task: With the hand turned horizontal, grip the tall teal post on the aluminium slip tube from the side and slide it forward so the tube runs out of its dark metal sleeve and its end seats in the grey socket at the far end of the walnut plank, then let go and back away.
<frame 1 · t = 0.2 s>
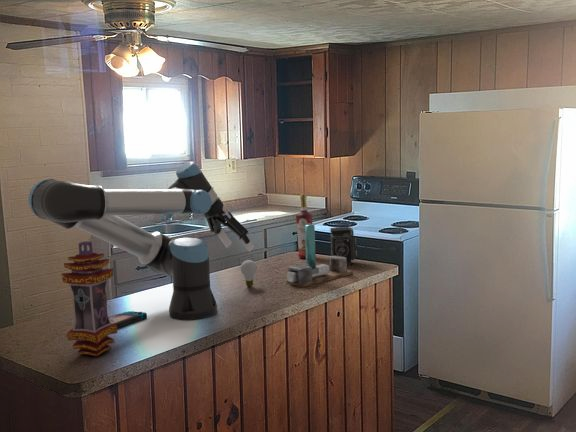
hand: (240, 247, 226), 15 cm above the counter, tool tilted 35°, fingers open, 13 cm apart
gaming console: (108, 328, 191), on the counter
lantern: (94, 354, 167), on the counter
slip tube: (307, 251, 234), point 11 cm above the counter, slide at 0.0 cm
bench: (320, 278, 240), on the counter
liquor: (305, 257, 279), on the counter
camera: (344, 264, 263), on the counter
light bulb: (249, 287, 231), on the counter
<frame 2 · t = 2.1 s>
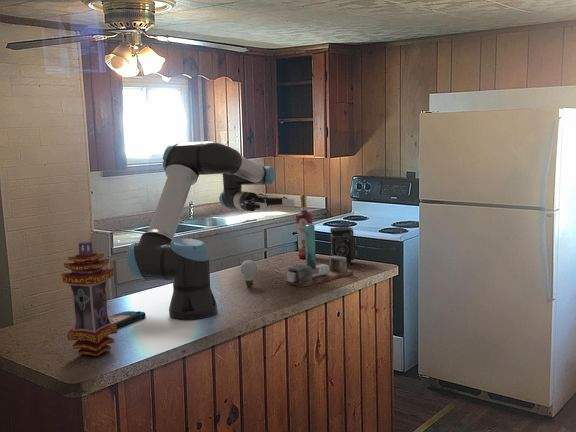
hand: (280, 205, 240), 28 cm above the counter, tool horizontal, fingers open, 13 cm apart
nothing on the counter moved.
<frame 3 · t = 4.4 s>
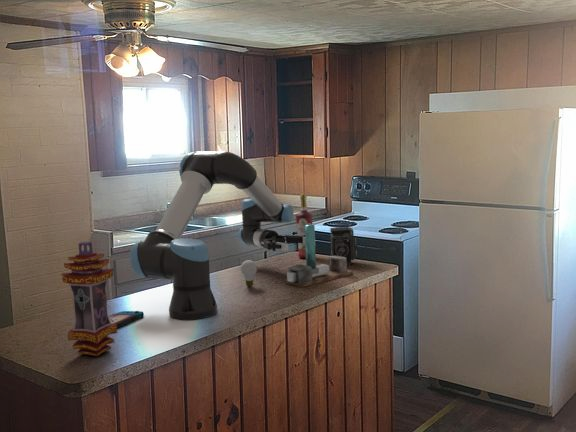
hand: (301, 244, 240), 13 cm above the counter, tool horizontal, fingers open, 13 cm apart
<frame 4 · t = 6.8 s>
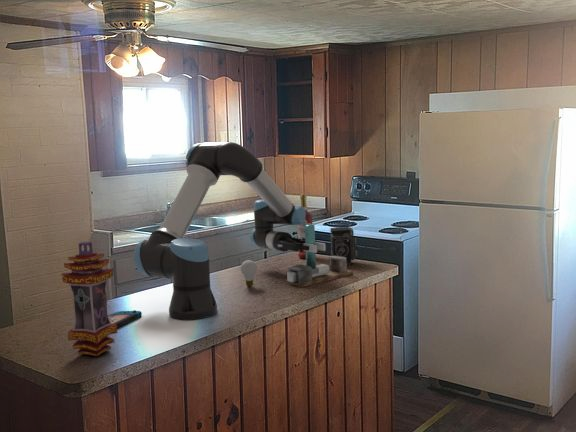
hand: (320, 248, 231), 13 cm above the counter, tool horizontal, fingers closed on slip tube, 4 cm apart
slip tube: (307, 251, 234), point 11 cm above the counter, slide at 0.0 cm, touching gripper
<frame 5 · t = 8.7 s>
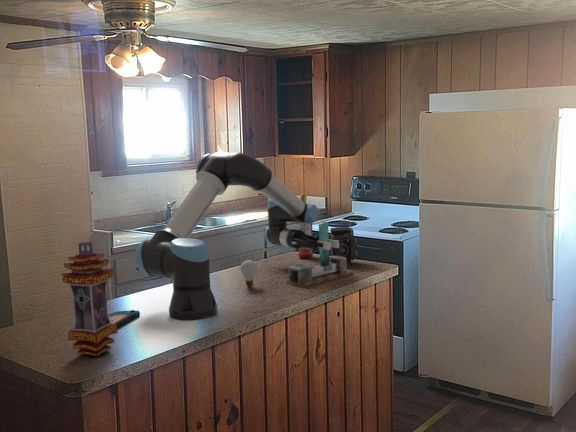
hand: (334, 245, 235), 13 cm above the counter, tool horizontal, fingers closed on slip tube, 4 cm apart
slip tube: (321, 248, 239), point 11 cm above the counter, slide at 7.0 cm, touching gripper
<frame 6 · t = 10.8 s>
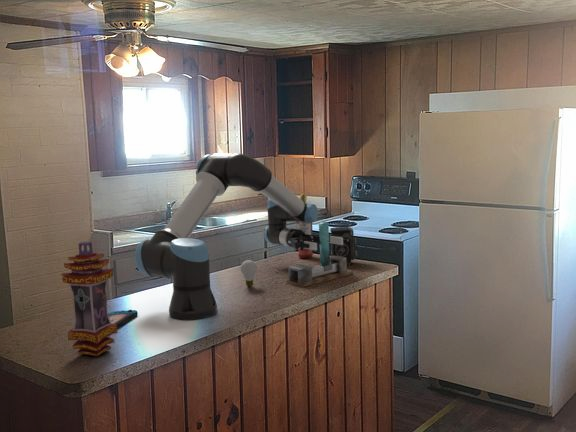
hand: (329, 244, 237), 13 cm above the counter, tool horizontal, fingers open, 13 cm apart
slip tube: (321, 248, 239), point 11 cm above the counter, slide at 7.2 cm
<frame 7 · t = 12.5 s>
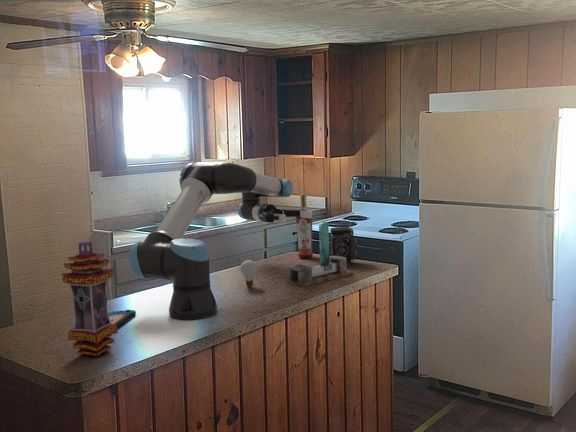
hand: (298, 216, 246), 23 cm above the counter, tool horizontal, fingers open, 13 cm apart
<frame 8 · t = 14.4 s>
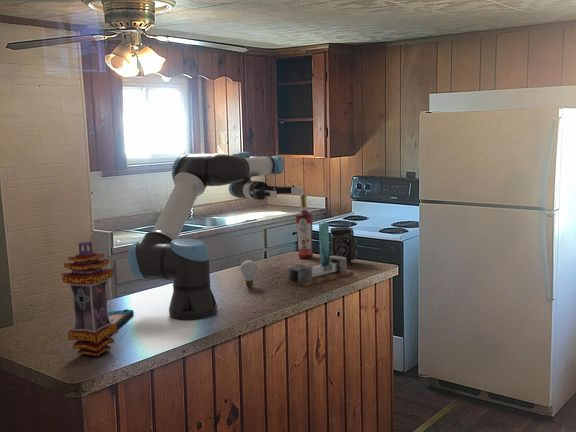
hand: (289, 193, 244), 32 cm above the counter, tool horizontal, fingers open, 13 cm apart
at the end: slip tube slide at 7.2 cm; the gripper is holding nothing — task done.
